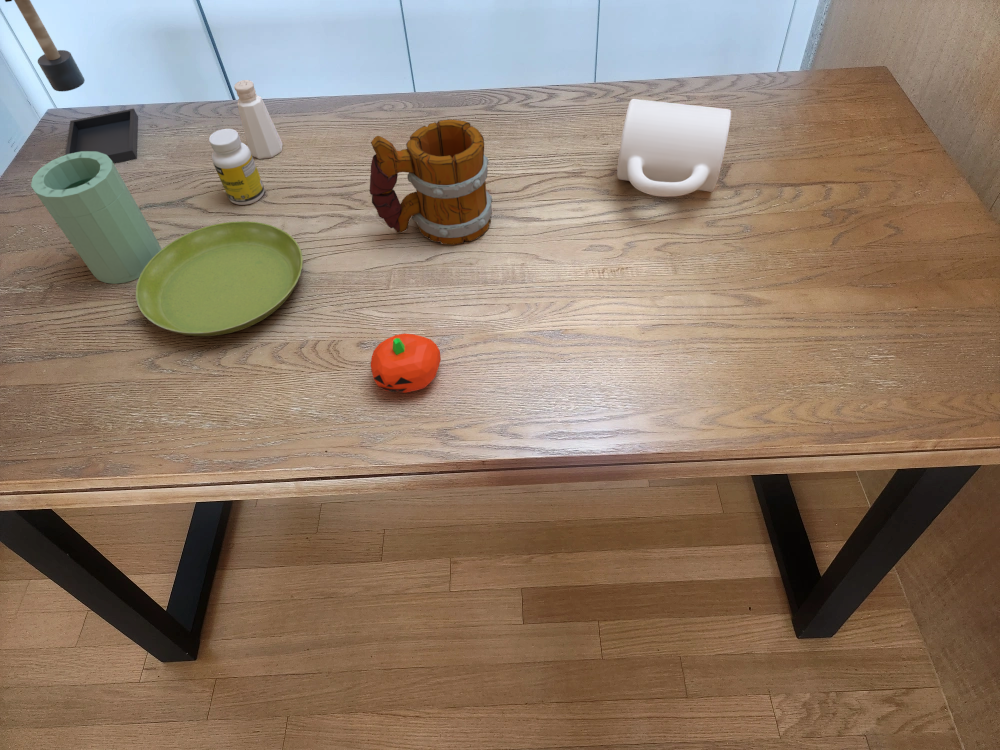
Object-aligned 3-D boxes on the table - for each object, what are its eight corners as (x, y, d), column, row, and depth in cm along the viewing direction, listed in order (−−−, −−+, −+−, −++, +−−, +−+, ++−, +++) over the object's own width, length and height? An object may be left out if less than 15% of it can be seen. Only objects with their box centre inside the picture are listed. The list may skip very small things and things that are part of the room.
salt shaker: (255, 163, 104) (230, 97, 95) (245, 147, 107) (220, 81, 98) (288, 152, 106) (266, 86, 97) (277, 136, 109) (255, 70, 100)
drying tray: (138, 161, 106) (132, 150, 104) (70, 175, 104) (63, 164, 102) (139, 119, 114) (133, 108, 112) (76, 131, 112) (70, 120, 110)
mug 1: (505, 235, 91) (501, 137, 79) (388, 263, 89) (366, 166, 77) (482, 190, 98) (475, 93, 86) (372, 215, 95) (350, 119, 83)
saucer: (258, 365, 78) (249, 348, 76) (113, 331, 83) (100, 314, 80) (335, 252, 90) (329, 233, 88) (204, 227, 95) (195, 209, 92)
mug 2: (625, 151, 102) (634, 83, 94) (716, 162, 100) (734, 93, 91) (607, 218, 93) (614, 149, 84) (707, 232, 90) (725, 163, 81)
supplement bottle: (221, 201, 98) (195, 143, 91) (243, 181, 101) (219, 122, 94) (251, 209, 97) (227, 150, 89) (272, 188, 100) (251, 129, 92)
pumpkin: (451, 388, 75) (445, 352, 70) (383, 410, 74) (372, 374, 69) (433, 344, 79) (426, 306, 74) (368, 364, 78) (356, 327, 73)
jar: (90, 290, 88) (27, 204, 77) (94, 247, 93) (35, 160, 82) (162, 274, 89) (110, 186, 78) (161, 232, 95) (113, 144, 84)
